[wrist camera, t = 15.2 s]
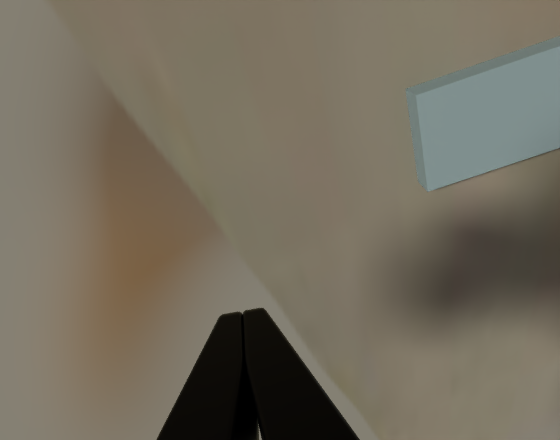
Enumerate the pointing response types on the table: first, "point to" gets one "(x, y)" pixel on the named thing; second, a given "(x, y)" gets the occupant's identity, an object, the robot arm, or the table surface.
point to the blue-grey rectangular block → (486, 115)
